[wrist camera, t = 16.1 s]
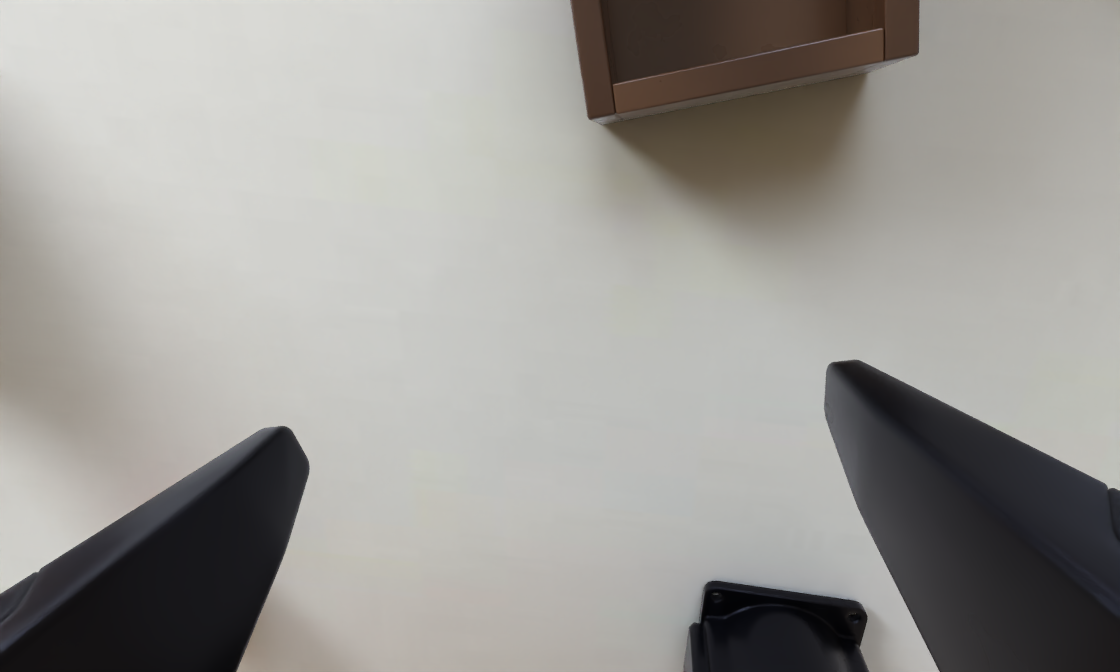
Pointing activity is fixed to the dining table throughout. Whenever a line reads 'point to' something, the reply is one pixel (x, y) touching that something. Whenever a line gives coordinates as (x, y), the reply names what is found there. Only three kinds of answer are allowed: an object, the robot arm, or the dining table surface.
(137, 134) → the dining table surface
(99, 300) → the dining table surface
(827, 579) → the dining table surface
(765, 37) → the brown divided tray
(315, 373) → the dining table surface
